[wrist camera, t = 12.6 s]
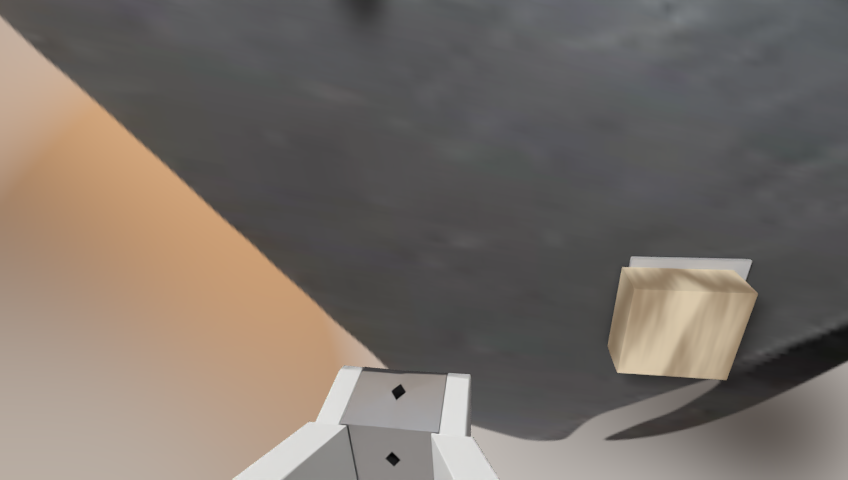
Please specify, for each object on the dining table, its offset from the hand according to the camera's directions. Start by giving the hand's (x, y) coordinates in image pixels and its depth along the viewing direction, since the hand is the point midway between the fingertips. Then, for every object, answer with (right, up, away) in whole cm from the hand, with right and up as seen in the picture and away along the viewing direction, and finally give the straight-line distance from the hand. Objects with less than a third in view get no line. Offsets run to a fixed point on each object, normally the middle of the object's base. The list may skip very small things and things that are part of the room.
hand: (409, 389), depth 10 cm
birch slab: (+20, -4, +31) cm, 37 cm away
